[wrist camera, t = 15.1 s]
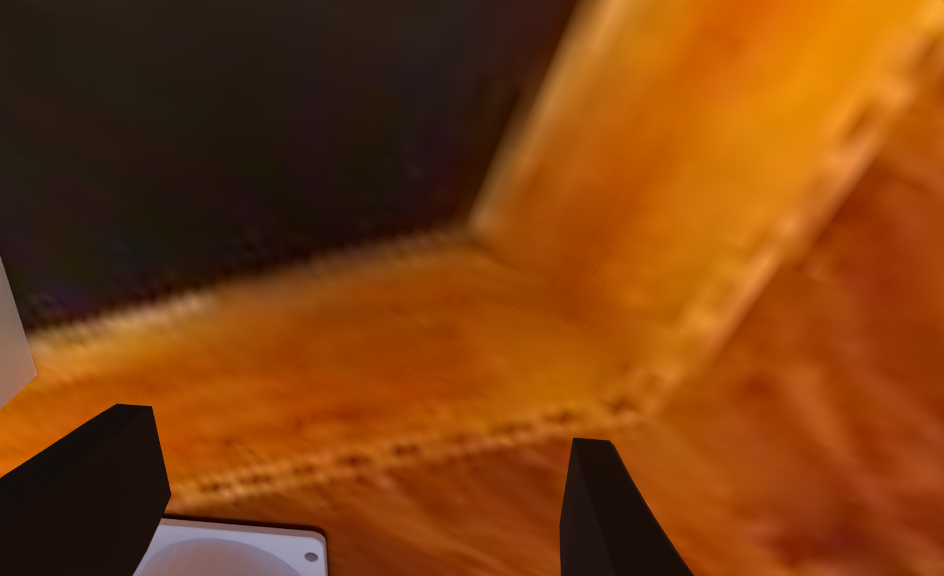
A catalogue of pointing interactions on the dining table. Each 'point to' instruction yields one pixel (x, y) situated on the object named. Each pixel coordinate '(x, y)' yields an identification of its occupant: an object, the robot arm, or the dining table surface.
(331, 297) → the dining table surface
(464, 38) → the dining table surface
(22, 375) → the pale grey box
